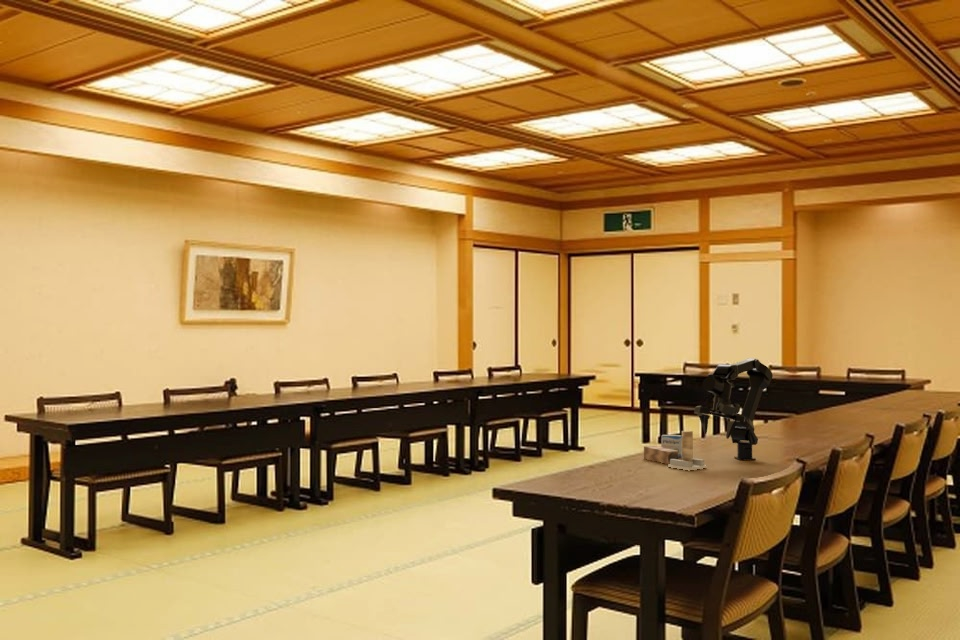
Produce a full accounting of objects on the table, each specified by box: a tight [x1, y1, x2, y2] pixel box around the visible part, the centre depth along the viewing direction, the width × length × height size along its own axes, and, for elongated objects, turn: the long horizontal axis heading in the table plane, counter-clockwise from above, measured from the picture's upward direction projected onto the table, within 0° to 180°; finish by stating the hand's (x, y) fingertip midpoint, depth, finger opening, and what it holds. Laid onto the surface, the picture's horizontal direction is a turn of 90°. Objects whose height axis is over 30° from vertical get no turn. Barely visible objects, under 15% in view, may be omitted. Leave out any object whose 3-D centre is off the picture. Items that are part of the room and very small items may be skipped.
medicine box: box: [660, 434, 682, 458], centre depth 365 cm, size 8×4×9 cm, turn 73°
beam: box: [643, 445, 680, 465], centre depth 352 cm, size 16×5×5 cm, turn 24°
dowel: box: [681, 430, 694, 465], centre depth 336 cm, size 4×4×12 cm
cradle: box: [667, 457, 707, 472], centre depth 336 cm, size 10×10×3 cm
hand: (716, 436), depth 345 cm, fingers open, 9 cm apart
